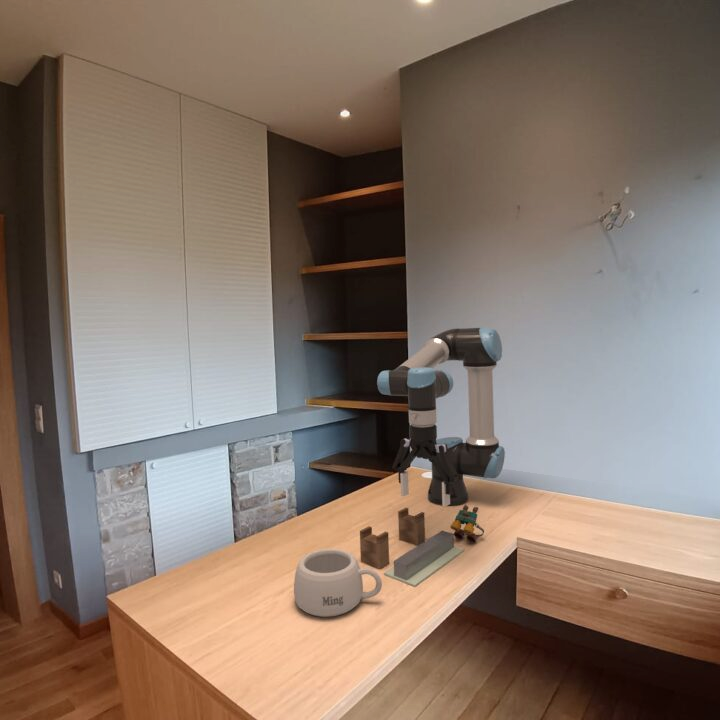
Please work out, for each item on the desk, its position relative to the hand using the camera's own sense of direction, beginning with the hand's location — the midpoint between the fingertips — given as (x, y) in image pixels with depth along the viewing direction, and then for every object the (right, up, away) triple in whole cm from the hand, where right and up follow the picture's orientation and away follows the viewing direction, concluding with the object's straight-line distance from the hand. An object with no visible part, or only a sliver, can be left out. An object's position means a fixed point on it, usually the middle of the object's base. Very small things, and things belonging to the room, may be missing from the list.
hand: (424, 500), depth 133 cm
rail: (0, -17, +1) cm, 17 cm away
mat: (0, -18, +1) cm, 18 cm away
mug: (-23, -20, -17) cm, 35 cm away
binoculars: (+15, -17, +14) cm, 26 cm away
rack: (-8, -17, +8) cm, 21 cm away
